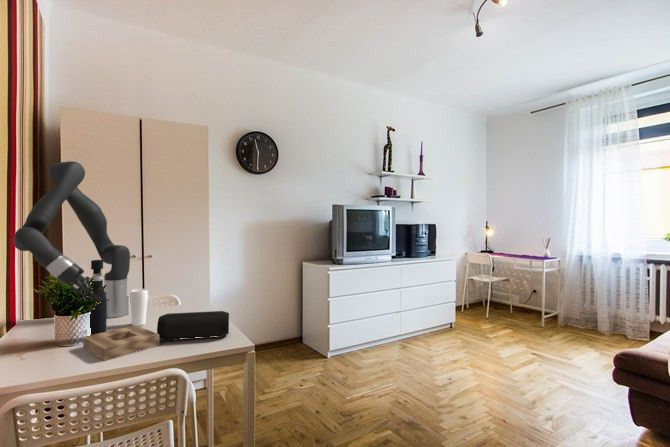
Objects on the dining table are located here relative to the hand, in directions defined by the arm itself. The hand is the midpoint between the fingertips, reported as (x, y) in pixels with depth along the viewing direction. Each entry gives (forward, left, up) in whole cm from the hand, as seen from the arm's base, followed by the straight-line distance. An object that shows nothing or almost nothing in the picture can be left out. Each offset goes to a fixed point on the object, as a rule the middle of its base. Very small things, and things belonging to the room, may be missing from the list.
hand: (101, 299), depth 136 cm
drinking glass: (-17, -6, -15) cm, 23 cm away
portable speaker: (-23, +27, -15) cm, 38 cm away
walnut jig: (-1, +16, -15) cm, 22 cm away
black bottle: (+1, -1, -15) cm, 15 cm away
